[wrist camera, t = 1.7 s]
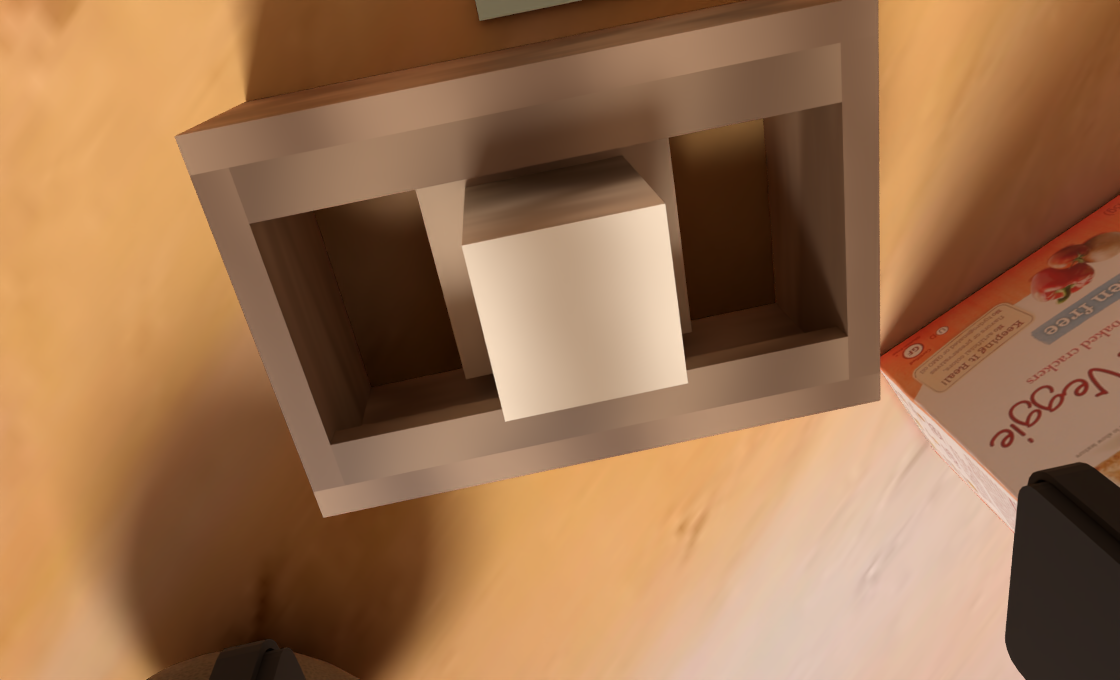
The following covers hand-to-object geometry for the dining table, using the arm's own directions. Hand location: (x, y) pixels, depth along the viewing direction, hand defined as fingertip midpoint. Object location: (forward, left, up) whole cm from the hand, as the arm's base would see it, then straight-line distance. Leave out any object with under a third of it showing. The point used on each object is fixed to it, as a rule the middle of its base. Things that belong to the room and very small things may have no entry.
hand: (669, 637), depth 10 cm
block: (0, 0, -17) cm, 17 cm away
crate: (0, 0, -20) cm, 20 cm away
